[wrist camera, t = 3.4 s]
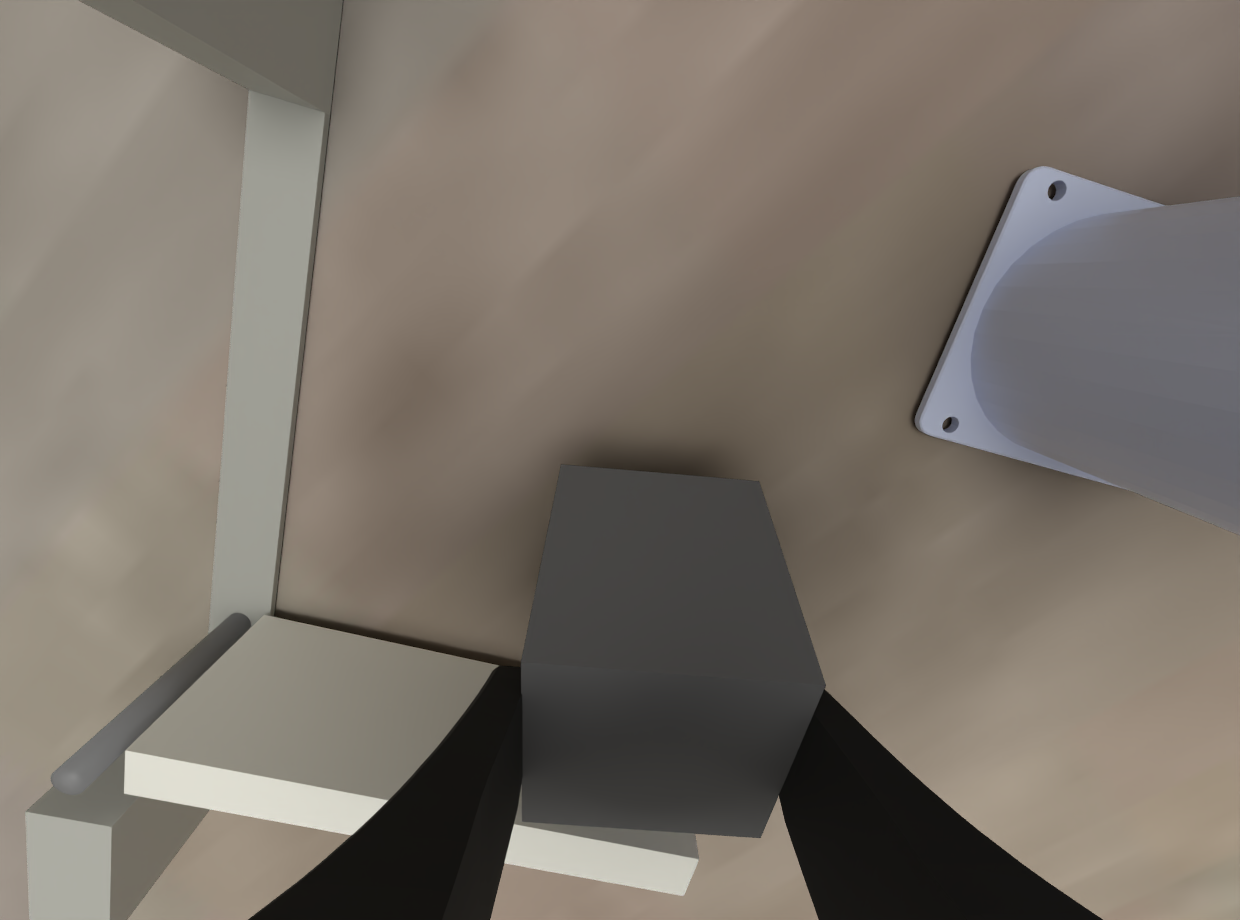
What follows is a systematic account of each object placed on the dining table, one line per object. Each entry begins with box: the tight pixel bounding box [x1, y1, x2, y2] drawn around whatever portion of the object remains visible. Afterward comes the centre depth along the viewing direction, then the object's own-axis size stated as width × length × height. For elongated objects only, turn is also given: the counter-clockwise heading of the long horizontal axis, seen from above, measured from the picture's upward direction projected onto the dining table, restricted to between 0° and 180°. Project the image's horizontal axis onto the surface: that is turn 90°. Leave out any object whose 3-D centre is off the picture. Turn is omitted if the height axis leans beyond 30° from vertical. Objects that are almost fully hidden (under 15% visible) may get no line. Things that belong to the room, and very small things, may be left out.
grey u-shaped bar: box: [25, 0, 343, 920], centre depth 15 cm, size 2×26×7 cm, turn 165°
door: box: [124, 615, 699, 896], centre depth 18 cm, size 3×15×6 cm, turn 75°
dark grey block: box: [521, 464, 826, 838], centre depth 14 cm, size 5×8×6 cm, turn 175°
